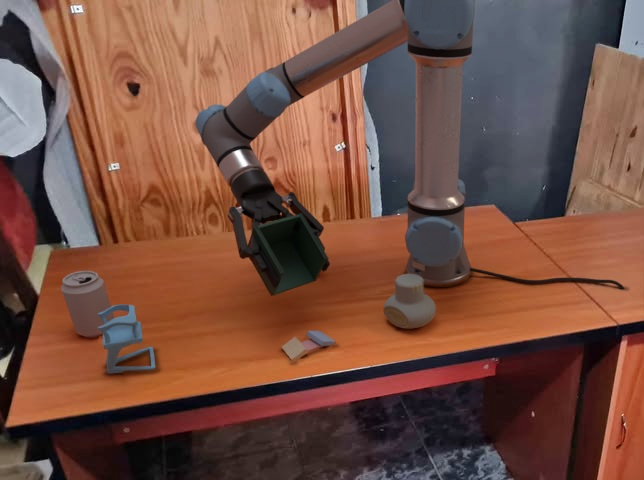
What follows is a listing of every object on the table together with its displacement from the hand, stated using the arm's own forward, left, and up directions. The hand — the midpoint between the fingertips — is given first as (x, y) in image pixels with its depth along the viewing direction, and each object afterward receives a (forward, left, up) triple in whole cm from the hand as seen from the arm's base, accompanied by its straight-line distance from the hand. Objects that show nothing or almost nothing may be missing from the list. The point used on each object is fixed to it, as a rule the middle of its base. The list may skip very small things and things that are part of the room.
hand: (302, 275), depth 129 cm
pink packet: (0, +4, -13) cm, 14 cm away
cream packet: (+2, +6, -13) cm, 14 cm away
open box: (+6, -6, -1) cm, 8 cm away
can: (+43, -1, -15) cm, 46 cm away
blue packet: (-3, +1, -13) cm, 13 cm away
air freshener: (-20, -8, -15) cm, 26 cm away
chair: (+31, +11, -15) cm, 36 cm away
